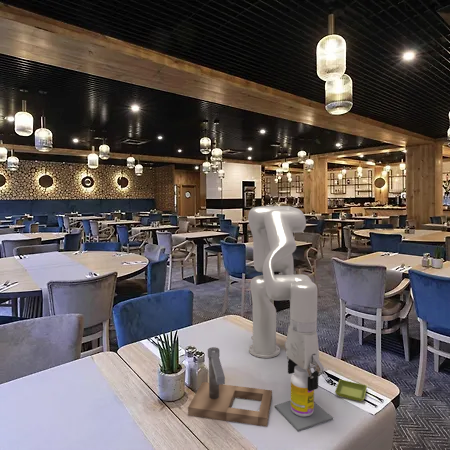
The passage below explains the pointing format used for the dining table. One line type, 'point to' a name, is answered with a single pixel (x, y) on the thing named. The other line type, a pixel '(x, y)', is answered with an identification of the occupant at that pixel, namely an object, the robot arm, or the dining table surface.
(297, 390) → the supplement bottle
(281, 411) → the coaster pad
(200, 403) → the collar stand
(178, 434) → the dining table surface
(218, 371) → the retention bar
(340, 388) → the olive square tray
